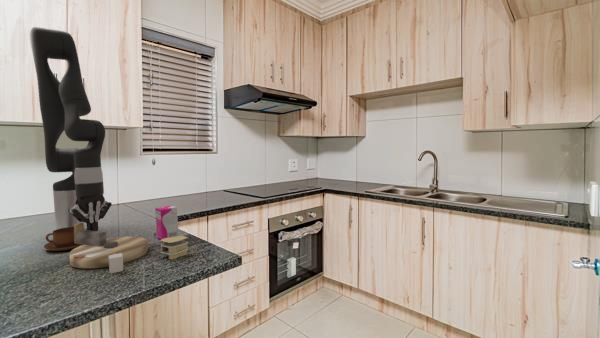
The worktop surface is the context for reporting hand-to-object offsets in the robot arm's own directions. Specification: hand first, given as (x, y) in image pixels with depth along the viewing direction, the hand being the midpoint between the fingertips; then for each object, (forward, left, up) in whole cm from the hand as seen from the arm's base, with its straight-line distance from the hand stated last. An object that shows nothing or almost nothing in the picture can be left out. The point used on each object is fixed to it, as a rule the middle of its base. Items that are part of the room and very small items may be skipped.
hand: (92, 233), depth 97 cm
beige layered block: (+24, +19, -6) cm, 32 cm away
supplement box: (+4, +22, -5) cm, 23 cm away
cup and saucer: (-7, -7, -5) cm, 11 cm away
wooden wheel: (+11, +3, -5) cm, 12 cm away
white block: (+26, +4, -5) cm, 27 cm away
